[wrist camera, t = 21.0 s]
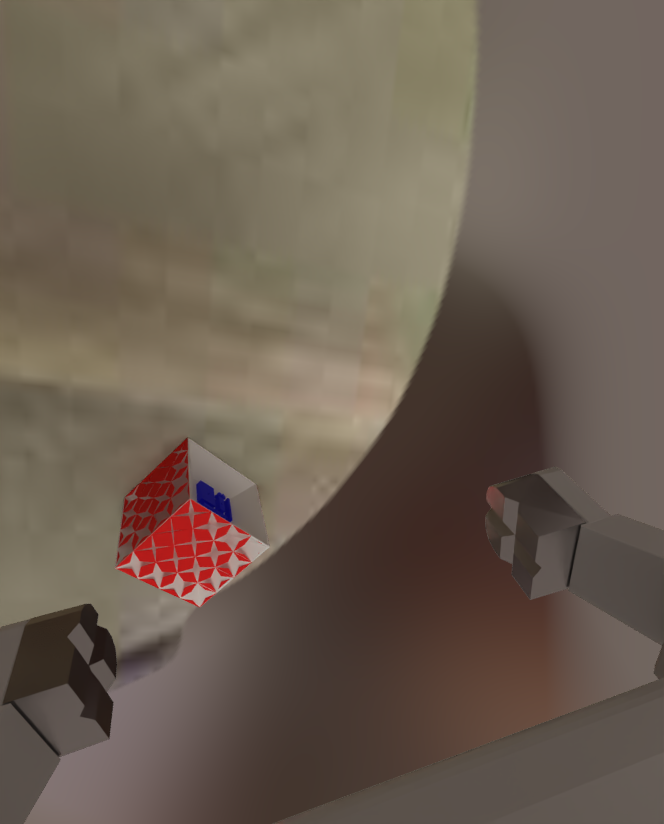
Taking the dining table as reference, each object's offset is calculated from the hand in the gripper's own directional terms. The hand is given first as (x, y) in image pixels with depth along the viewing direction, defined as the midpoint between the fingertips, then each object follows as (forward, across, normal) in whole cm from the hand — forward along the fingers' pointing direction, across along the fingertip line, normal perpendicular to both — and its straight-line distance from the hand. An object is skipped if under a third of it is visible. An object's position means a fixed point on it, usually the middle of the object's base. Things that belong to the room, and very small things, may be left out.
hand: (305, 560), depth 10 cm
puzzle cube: (+29, +7, +20) cm, 36 cm away
